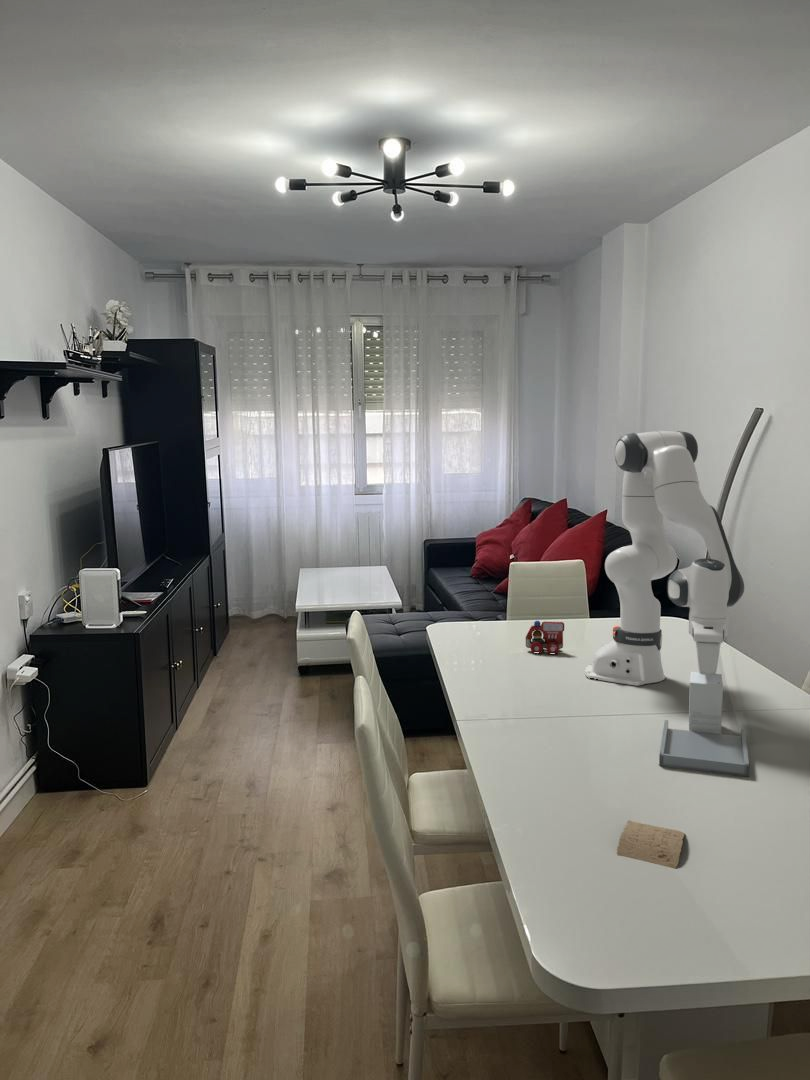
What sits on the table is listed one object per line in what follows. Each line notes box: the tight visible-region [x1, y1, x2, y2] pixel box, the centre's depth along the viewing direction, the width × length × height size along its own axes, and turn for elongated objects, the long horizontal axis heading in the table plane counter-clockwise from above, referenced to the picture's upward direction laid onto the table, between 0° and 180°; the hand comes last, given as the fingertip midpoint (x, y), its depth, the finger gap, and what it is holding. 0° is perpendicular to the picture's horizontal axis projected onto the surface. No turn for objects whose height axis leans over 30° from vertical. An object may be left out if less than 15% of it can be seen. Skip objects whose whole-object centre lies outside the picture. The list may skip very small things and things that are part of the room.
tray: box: [658, 719, 750, 778], centre depth 177 cm, size 18×22×2 cm
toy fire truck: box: [525, 620, 565, 654], centre depth 258 cm, size 7×12×10 cm, turn 75°
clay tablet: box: [616, 819, 686, 869], centre depth 138 cm, size 14×10×3 cm
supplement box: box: [688, 671, 724, 734], centre depth 190 cm, size 7×7×13 cm
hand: (707, 682), depth 193 cm, fingers closed
